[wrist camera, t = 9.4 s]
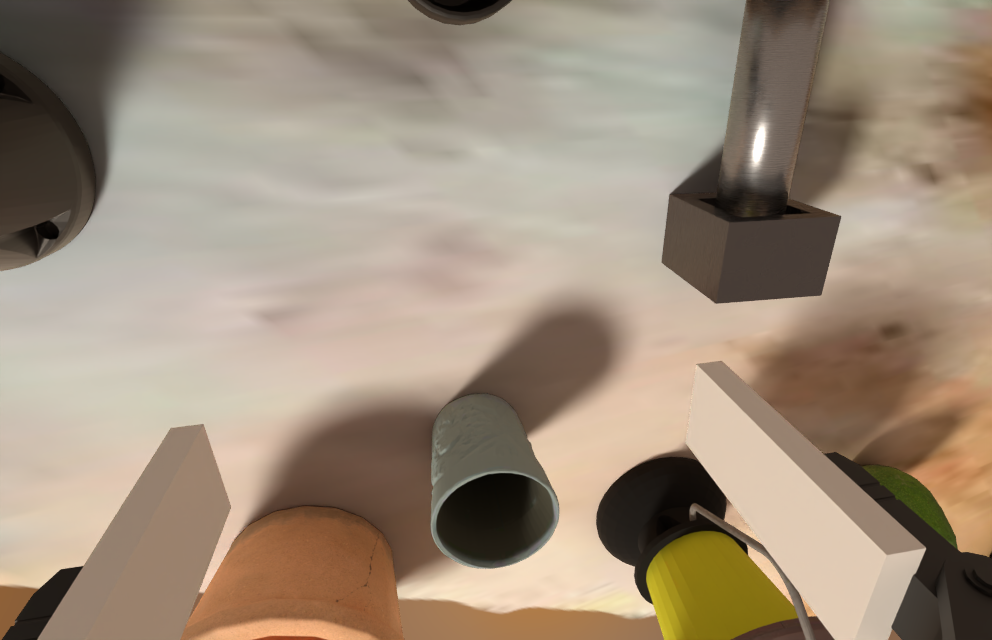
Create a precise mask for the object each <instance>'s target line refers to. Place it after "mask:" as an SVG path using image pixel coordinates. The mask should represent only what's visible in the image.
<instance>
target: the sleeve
mask: <svg viewBox="0 0 992 640" xmlns="http://www.w3.org/2000/svg"><path fill="white" fill-rule="evenodd" d="M716 194H717V192H711V193H691V194H671V195H669V204H668V212H667V221H666V229H665V238H664V247H663V255H662V263H663V264H664V265H665V266H667V267H668V268H669V269H671V270H672V271H673V272H675V273H676V274H677V275H679V276H680V277H681V278H683V279H684V280H685V281H687V282H688V283H689V284H691V285H692V286H693V287H695V288H696V289H697V290H699V291H700V292H701V293H703V294H704V295H705V296H707V297H708V298H709V299H711V300H712V301H713V302H714V303H716V304H717V303H730V302H743V301H755V300H768V299H781V298H794V297H807V296H820V295H821V294H822V290H823V286H824V283H825V279H826V275H827V271H828V267H829V263H830V259H831V255H832V251H833V247H834V243H835V239H836V235H837V231H838V227H839V223H840V219H841V216H839V215H836V214H833V213H830V212H827V211H824V210H821V209H818V208H815V207H812V206H809V205H806V204H803V203H800V202H797V201H794V200H791V199H788V203H787V208H786V213H785V215H771V216H753V217H737V216H735V215H732V214H730V213H728V212H726V211H723V210H721V209H719V208H717V207H715V201H716Z"/></svg>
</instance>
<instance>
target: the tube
mask: <svg viewBox="0 0 992 640" xmlns="http://www.w3.org/2000/svg"><path fill="white" fill-rule="evenodd" d="M829 2H830V0H746V4H745V11H744V17H743V24H742V31H741V37H740V44H739V50H738V57H737V63H736V70H735V76H734V83H733V89H732V96H731V103H730V109H729V116H728V122H727V129H726V135H725V142H724V148H723V155H722V161H721V168H720V175H719V181H718V188H717V194H716V201H715V207H717V208H719V209H721V210H723V211H726V212H728V213H730V214H732V215H735V216H737V217H753V216H771V215H785V213H786V208H787V203H788V198H789V194H790V189H791V184H792V179H793V175H794V170H795V165H796V160H797V155H798V151H799V146H800V141H801V136H802V132H803V127H804V122H805V117H806V112H807V108H808V103H809V98H810V93H811V89H812V84H813V79H814V74H815V69H816V65H817V60H818V55H819V50H820V45H821V41H822V36H823V31H824V26H825V22H826V17H827V12H828V7H829Z"/></svg>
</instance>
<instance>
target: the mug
mask: <svg viewBox="0 0 992 640" xmlns="http://www.w3.org/2000/svg"><path fill="white" fill-rule="evenodd" d="M408 1H409V2H410V3H411V4H412V5H413V6H414V7H415V8H416V9H417V10H419V11H420V12H422V13H423V14H425V15H426V16H428V17H429V18H431V19H434V20H437V21H439V22H442V23H445V24H453V25H465V24H473V23H476V22H479V21H481V20H484V19H486V18H489V17H490V16H492V15H494V14H495V13H496V12H498V11H499V10H501V9H502V8H503V7H505V6H506V5H507V4H509V3H510V2H511V1H512V0H408Z"/></svg>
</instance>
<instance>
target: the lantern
mask: <svg viewBox="0 0 992 640" xmlns="http://www.w3.org/2000/svg"><path fill="white" fill-rule="evenodd" d="M725 512H726V496H725V494H724V493H723V492H722V490H721V489H720V488H719V487H718V485H717V484H716V483H715V481H714V480H713V479H712V477H711V476H710V475H709V473H708V472H707V471H706V469H705V468H704V467H703V465H702V464H701V463H700V462H698V461H696V460H692V459H688V458H683V457H668V458H661V459H656V460H653V461H649V462H646V463H644V464H641V465H639V466H637V467H635V468H633V469H631V470H630V471H628V472H627V473H625V474H624V475H622V476H621V477H620V478H619V479H618V480H617V481H616V482H615V483H613V484H612V486H611V487H610V488H609V489H608V491H607V492H606V493H605V495H604V497H603V498H602V500H601V502H600V504H599V508H598V511H597V519H596V525H597V530H598V535H599V538H600V539H601V541H602V543H603V545H604V546H605V548H606V549H607V550H608V551H609V552H610V553H611V554H612V555H613V556H614V557H616V558H617V559H619V560H621V561H622V562H624V563H626V564H629V565H632V566H635V573H634V577H635V583H636V585H637V588H638V590H639V592H640V594H641V595H642V596H643V598H644V599H645V600H646V601H648V602H649V603H651V604H653V605H654V608H655V612H656V615H657V618H658V621H659V624H660V627H661V631H662V634H663V637H664V640H835V639H834V638H833V637H832V635H831V634H830V633H829V631H828V630H827V629H826V628H825V626H824V625H823V624H822V622H821V621H820V620H819V618H818V617H817V616H815V617H808V616H807V613H806V610H805V607H804V604H803V602H802V599H801V596H800V594H799V592H798V591H797V589H796V588H795V587H794V585H793V584H792V583H791V581H790V580H789V579H788V577H787V576H786V575H785V573H784V572H783V571H782V570H781V568H780V567H779V566H778V564H777V563H776V562H775V560H774V559H773V558H772V556H771V555H770V554H769V552H768V551H767V550H766V548H765V547H764V546H763V545H762V544H760V543H759V542H757V541H756V540H754V539H752V538H751V537H749V536H748V535H746V534H744V533H743V532H741V531H740V530H738V529H736V528H735V527H733V526H732V525H730V524H728V523H727V522H725V521H723V520H724V518H725ZM746 544H747V545H749V546H750V547H752V548H753V549H755V550H757V551H758V552H760V553H762V554H763V555H764V556H766V557H767V558H768V559H769V560H770V562H771V563H772V564H773V565H774V567H775V568H776V569H777V571H778V573H779V574H780V576H781V578H782V579H783V581H784V583H785V585H786V587H787V589H788V591H789V594H790V596H791V599H792V601H793V604H794V606H793V605H792V604H791V603H790V601H789V600H788V599H787V598H786V597H785V596H784V595H783V594H782V593H781V592H780V590H779V589H778V588H777V587H776V586H775V585H774V584H773V583H772V582H771V580H770V579H769V578H768V577H767V576H766V575H765V574H764V573H763V572H762V571H761V569H760V568H759V567H758V566H757V565H756V564H755V563H754V562H753V561H752V559H751V558H750V557H749V556H748V548H747V545H746Z"/></svg>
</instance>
